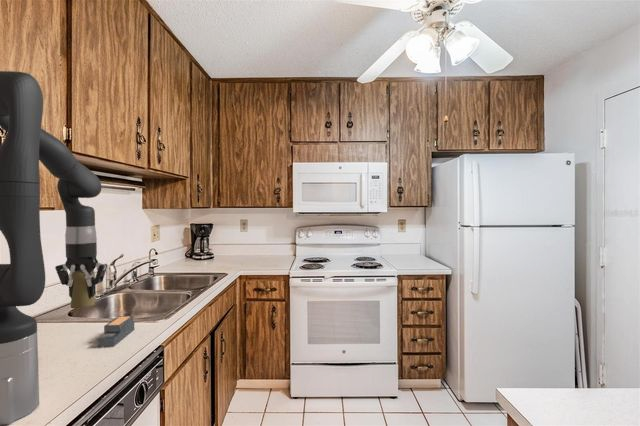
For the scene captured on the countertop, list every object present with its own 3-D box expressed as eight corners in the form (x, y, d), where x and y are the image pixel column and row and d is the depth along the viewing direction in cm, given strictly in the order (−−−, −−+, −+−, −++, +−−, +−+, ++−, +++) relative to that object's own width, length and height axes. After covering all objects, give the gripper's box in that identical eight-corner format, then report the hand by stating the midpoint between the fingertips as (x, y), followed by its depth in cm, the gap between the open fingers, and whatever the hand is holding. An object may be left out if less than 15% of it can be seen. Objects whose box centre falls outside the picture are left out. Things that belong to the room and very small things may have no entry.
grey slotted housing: (114, 346, 107) (113, 329, 107) (97, 347, 107) (97, 330, 106) (134, 329, 121) (134, 315, 121) (120, 330, 121) (119, 315, 120)
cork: (97, 305, 99) (96, 268, 99) (73, 309, 95) (72, 271, 94) (91, 301, 103) (91, 266, 103) (68, 305, 99) (67, 269, 98)
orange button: (118, 330, 111) (118, 324, 111) (107, 331, 111) (107, 325, 111) (130, 322, 119) (130, 316, 119) (119, 322, 119) (119, 316, 119)
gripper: (46, 243, 94) (48, 302, 95) (99, 242, 95) (100, 301, 96) (64, 240, 101) (65, 295, 102) (113, 239, 103) (114, 294, 103)
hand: (82, 297), depth 99 cm, fingers closed on cork, 4 cm apart
